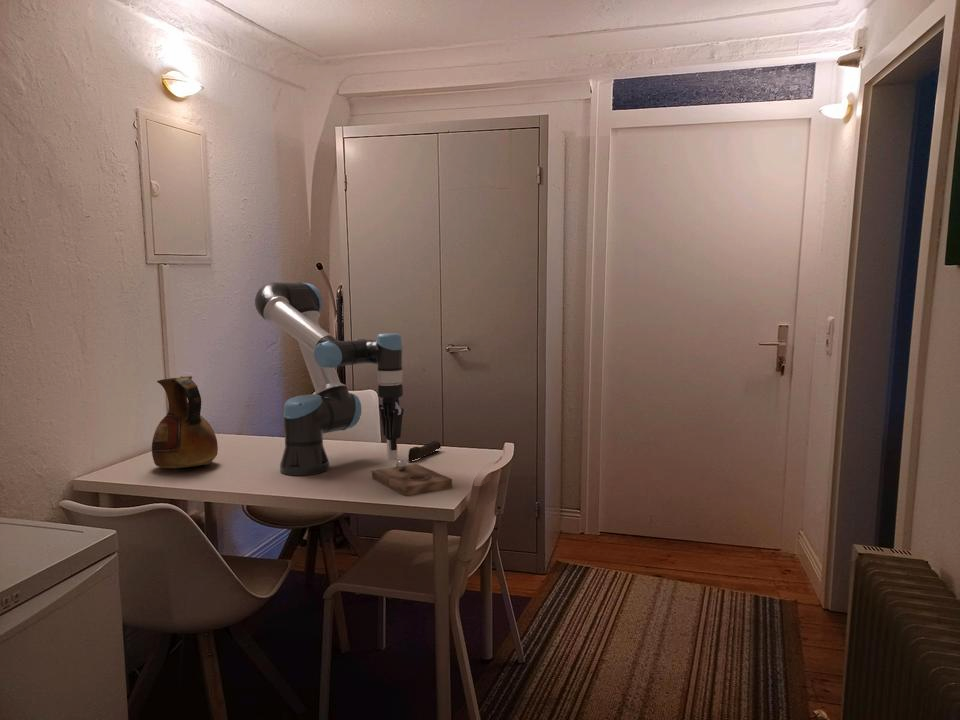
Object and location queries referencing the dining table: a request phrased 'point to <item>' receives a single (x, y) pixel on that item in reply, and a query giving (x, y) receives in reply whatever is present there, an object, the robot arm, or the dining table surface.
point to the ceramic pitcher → (183, 428)
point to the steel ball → (401, 465)
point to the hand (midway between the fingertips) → (392, 459)
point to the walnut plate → (412, 479)
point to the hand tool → (423, 450)
